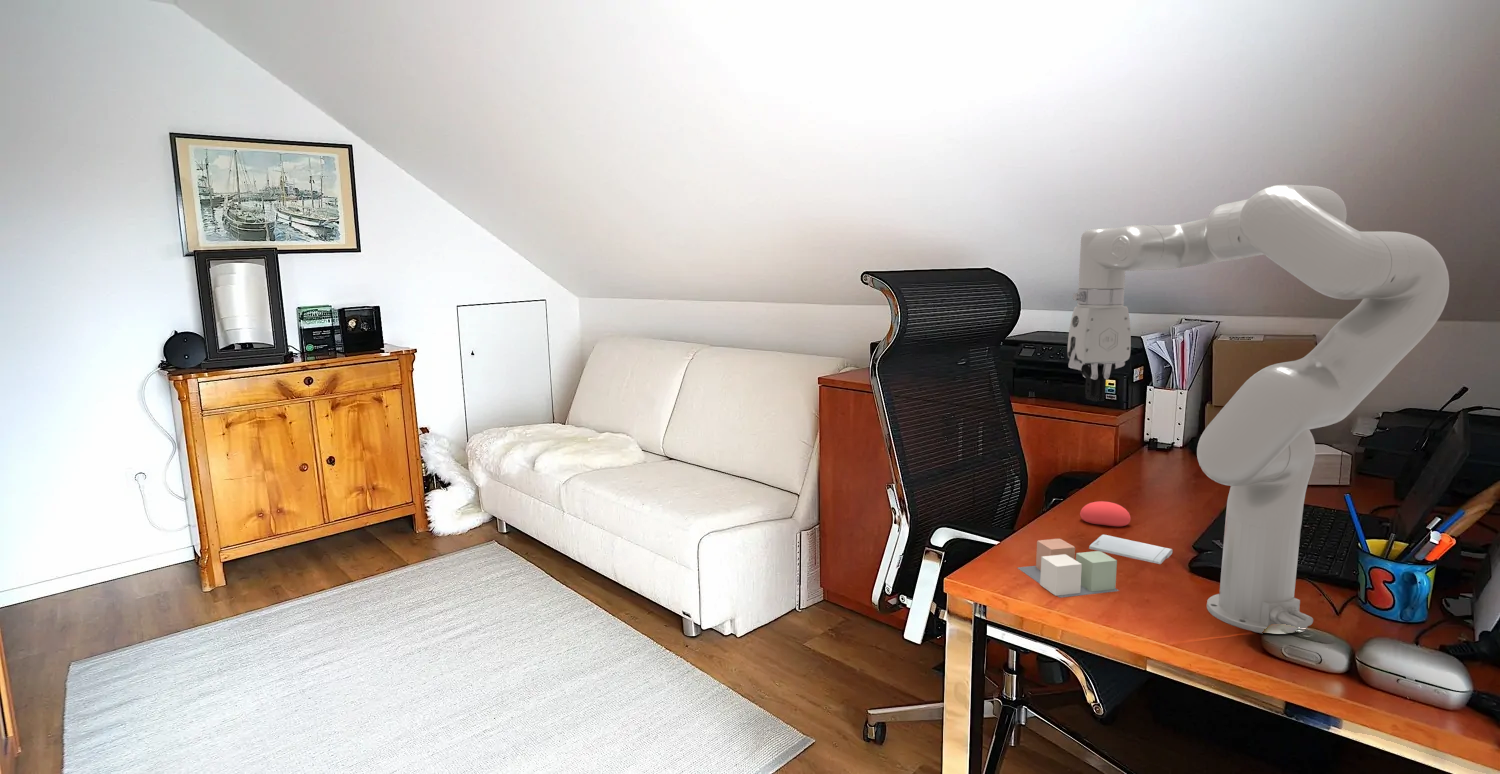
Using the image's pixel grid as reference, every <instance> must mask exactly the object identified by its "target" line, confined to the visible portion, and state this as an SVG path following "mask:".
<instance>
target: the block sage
mask: <svg viewBox="0 0 1500 774" xmlns="http://www.w3.org/2000/svg"><path fill="white" fill-rule="evenodd" d="M1075 560H1076V561H1078V562H1079V563H1081V564H1082V570H1081V586H1083V587H1084V588H1086V589H1088V590H1089V591H1091V592H1094V591H1103V590H1112V589H1115V588H1116V586H1117V585H1116V583H1117V569H1118V568H1117V566H1118V560H1117V559H1115V558H1113V557H1111V556H1110V555H1108V554H1106V552H1102V551H1097V550H1094V551H1093V550H1092V551H1086V552H1075Z"/></svg>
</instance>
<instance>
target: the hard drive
mask: <svg viewBox="0 0 1500 774" xmlns="http://www.w3.org/2000/svg"><path fill="white" fill-rule="evenodd" d="M1088 549H1090V550H1092V551H1093V550H1094V551H1101V552H1103V553H1107V554H1111V555H1117V556H1122V557H1126V558H1129V559H1134V560H1139V561H1145V562H1148V563H1154V564H1158V565H1161V564H1162V563H1164V561H1165V560H1166V559H1169V558H1170V557H1171V555H1172V554H1173V548H1168V547H1163V546H1159V545H1154V544H1149V543H1145V542H1140V541H1135V540H1130V539H1126V538H1122V537H1117V536H1112V535H1109V534H1108V535H1107V534H1101V535H1100V536H1099V537H1097V539H1095V540H1094V541H1093V542H1092V543H1091V544H1090V545H1089V546H1088Z"/></svg>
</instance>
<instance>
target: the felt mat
mask: <svg viewBox="0 0 1500 774" xmlns="http://www.w3.org/2000/svg"><path fill="white" fill-rule="evenodd" d="M1017 570H1019V571H1021V572H1022V573H1024V574H1025V575H1026V576H1028V577H1029V578H1031V579H1033V581H1035V582H1036V583H1038V584H1039V585H1040V577H1041V571H1040V570H1039V569H1038V568H1036V565H1030V566H1020V567H1017ZM1115 592H1116V593H1117V592H1120V590H1119V589H1118V588H1116V587H1115V589H1112V590H1103V591H1094V592H1091V591H1089V590H1088V589H1086V588H1084V587H1083V586H1081V588H1080V593H1076V594H1067V595H1058V596H1057V597H1058V598H1059V599H1060V598H1061V599H1062V598H1070V597H1078V596H1088V595H1096V594H1107V593H1115Z"/></svg>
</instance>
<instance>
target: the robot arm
mask: <svg viewBox="0 0 1500 774" xmlns="http://www.w3.org/2000/svg"><path fill="white" fill-rule="evenodd" d="M1347 212H1348V211H1347V207H1346V204H1345V201H1344V200H1343V199H1342V198H1341V196H1340V195H1339V194H1338V193H1336V192H1335V191H1333V190H1332V189H1329V188H1326V187H1324V186H1323V187H1322V186H1318V185H1301V184H1277V185H1272V186H1268V187H1265V188H1263V189H1261V190H1259V191H1257V192H1256V193H1254V194H1253V195H1251V196H1250V198H1247V199H1242V200H1238V201H1237V200H1236V201H1233V202H1228V203H1223V204H1220V205H1218V206H1216V207H1214V208H1213V209H1212V210H1211V211H1210V213H1209V214H1208V217H1205V218H1201V219H1197V220H1191V221H1188V222H1183V223H1178V224H1176V223H1175V224H1169V225H1166V224H1165V225H1164V224H1154V225H1153V224H1145V225H1138V224H1136V225H1133V224H1132V225H1126V226H1125V225H1124V226H1120V227H1116V228H1115V227H1108V228H1105V227H1103V228H1091V229H1087V230H1085V231H1083V233H1082V234H1081V237H1080V252H1079V253H1080V255H1079V268H1078V269H1079V270H1078V271H1079V272H1078V289H1077V292H1074V293H1073V294H1072V300H1073V301H1074V302H1075V301H1076V302H1077V303H1076V304H1077V306H1074V308H1073V311H1072V315H1071V319H1070V324H1069V329H1068V336H1067V337H1068V338H1067V340H1068V341H1067V358H1068V359H1069V361H1068V364H1067V365H1068V368H1070V369H1073V370H1078V371H1079V372H1080V373H1081V375H1082V377H1084V378H1085V385H1084V386H1085V387H1084V388H1085V389H1084V391H1085V392H1084V394H1085V399H1086V400H1088V401H1092V402H1104V401H1105V395H1106V385H1107V380H1108V379H1109V378H1110V375H1111V373H1113V372H1114V371H1115V370H1116V369H1119V368H1122V367H1124V366H1125V365H1126V361H1128V360H1130V357H1131V349H1132V348H1131V347H1132V345H1131V344H1132V343H1131V338H1132V337H1131V336H1132V335H1131V320H1130V312H1129V309H1128V306H1126V305H1125V306H1124V303H1125V300H1124V299H1125V298H1124V297H1125V285H1126V284H1125V283H1126V281H1125V280H1126V271H1127V272H1129V271H1130V272H1139V271H1140V272H1141V271H1166V270H1167V271H1168V270H1176V269H1182V268H1190V267H1194V266H1202V265H1207V264H1208V265H1209V264H1214V263H1219V262H1221V263H1224V262H1227V261H1234V260H1240V259H1241V260H1242V259H1245V258H1251V257H1257V256H1263V255H1264V256H1266V258H1268V259H1269V260H1271V261H1272V262H1274V263H1275V264H1276V265H1278V266H1280V267H1281V268H1282V269H1283V270H1285V271H1287V273H1289V274H1291V275H1292V276H1294V277H1295V278H1297V280H1299V281H1300V282H1302V283H1303V284H1305V285H1306V286H1308V287H1310V289H1313V290H1314V291H1316V292H1317V293H1320V294H1321V295H1323V296H1326V297H1330V298H1333V299H1336V300H1337V299H1338V300H1346V301H1347V300H1348V301H1351V300H1361V301H1360V303H1359V304H1358V305H1357V306H1355V308H1354V309H1352V310H1351V311H1350V312H1349V313H1347V314H1346V315H1345V316H1344V317H1342V318H1341V319H1340V320H1339V321H1338V322H1336V324H1334V325H1333V327H1332V328H1331V329H1329V331H1328V333H1326V335H1325V336H1324V337H1323V338H1322V339H1321V341H1319V342H1318V343H1317V345H1316V346H1315V347H1314V348H1313V349H1312V350H1311V351H1309V352H1308V353H1307V354H1306V355H1304V357H1302V358H1299V359H1296V360H1291V361H1284V362H1279V363H1274V364H1271V365H1268V366H1266V367H1264V368H1262V369H1260V370H1259V371H1257V372H1256V373H1254V374H1252V376H1250V377H1249V378H1248V379H1247V380H1246V381H1245V382H1244V383H1243V384H1242V385H1241V386H1240V387H1239V388H1238V390H1237V391H1236V392H1235V393H1234V394H1233V395H1232V397H1231V398H1230V399H1229V400H1228V402H1227V403H1226V404H1225V405H1224V406H1223V407H1222V408H1221V409H1220V411H1219V412H1218V413H1217V414H1216V416H1215V417H1214V418H1213V419H1212V420H1211V421H1210V422H1209V424H1207V426H1206V427H1205V429H1204V430H1203V432H1202V434H1200V437H1199V440H1198V443H1197V447H1196V456H1197V458H1196V459H1197V462H1198V465H1199V467H1200V468H1201V470H1202V472H1203V473H1204V474H1205V475H1206V476H1207V477H1208V478H1209V479H1211V480H1212V481H1214V482H1215V483H1218V484H1219V485H1220V484H1221V485H1224V486H1230V488H1229V493H1228V496H1227V501H1226V511H1225V519H1224V520H1225V524H1224V533H1223V534H1224V535H1223V545H1222V547H1223V548H1222V559H1221V570H1220V571H1221V572H1220V583H1219V593H1216V594H1213V595H1212V596H1210V597H1208V599H1207V600H1206V601H1207V602H1206V609H1207V611H1208V613H1210V615H1212V616H1213V617H1215V618H1216V619H1218V620H1219V621H1222V622H1224V623H1226V624H1228V625H1230V626H1233V627H1236V628H1240V629H1243V630H1247V631H1252V632H1251V633H1259V634H1263V633H1262V632H1263V631H1264V629H1266V628H1267V627H1268V626H1269V625H1271V624H1286V625H1291V626H1295V627H1297V628H1298V627H1300V628H1307V629H1308V627H1309V626H1311V625H1312V624H1313V623H1314V618H1313V617H1312V616H1310V615H1308V614H1306V613H1303V612H1301V611H1300V605H1301V599H1298V598H1296V597H1295V589H1296V581H1297V580H1296V579H1297V570H1298V569H1297V568H1298V561H1299V560H1298V559H1299V552H1300V551H1299V550H1300V549H1299V547H1300V539H1301V531H1302V530H1301V529H1302V523H1303V522H1302V521H1303V513H1304V504H1305V499H1306V493H1307V488H1308V485H1309V484H1308V483H1309V481H1310V477H1311V475H1312V470H1313V467H1314V464H1315V458H1316V442H1315V438H1314V436H1313V434H1312V432H1311V430H1314V429H1319V428H1322V427H1328V426H1331V425H1333V424H1337V423H1339V422H1341V421H1343V420H1344V419H1345V418H1348V416H1349V415H1350V414H1351V413H1352V412H1353V411H1354V410H1355V409H1356V408H1357V407H1358V405H1360V404H1361V402H1362V401H1363V400H1365V398H1367V396H1369V394H1370V393H1372V391H1373V390H1374V389H1375V388H1377V386H1378V385H1379V384H1380V383H1382V381H1383V380H1384V379H1385V378H1386V377H1387V376H1388V375H1389V374H1390V373H1391V372H1392V370H1393V369H1395V367H1396V366H1397V365H1398V364H1399V362H1401V361H1402V360H1403V359H1404V358H1405V357H1406V356H1407V355H1408V354H1409V353H1410V352H1411V351H1412V350H1413V348H1415V347H1416V346H1417V345H1418V344H1419V343H1420V342H1421V341H1422V340H1423V339H1424V338H1425V336H1426V335H1427V334H1428V333H1429V332H1430V330H1432V329H1433V327H1434V326H1435V325H1436V323H1437V322H1438V320H1439V319H1440V317H1441V315H1442V313H1443V311H1444V309H1445V306H1446V305H1447V302H1448V297H1449V293H1450V275H1449V270H1448V268H1447V265H1446V263H1445V260H1444V257H1442V255H1441V254H1440V253H1439V251H1438V250H1437V249H1436V248H1435V246H1434V245H1433V244H1431V243H1430V242H1429V241H1427V240H1426V239H1424V238H1422V237H1420V236H1418V235H1415V234H1412V233H1406V232H1402V231H1401V232H1400V231H1385V230H1384V231H1383V230H1382V231H1359V230H1358V229H1356V228H1354V227H1353V226H1350V225H1349V224H1347V223H1346V221H1347V217H1348V216H1347V215H1348V213H1347Z"/></svg>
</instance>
